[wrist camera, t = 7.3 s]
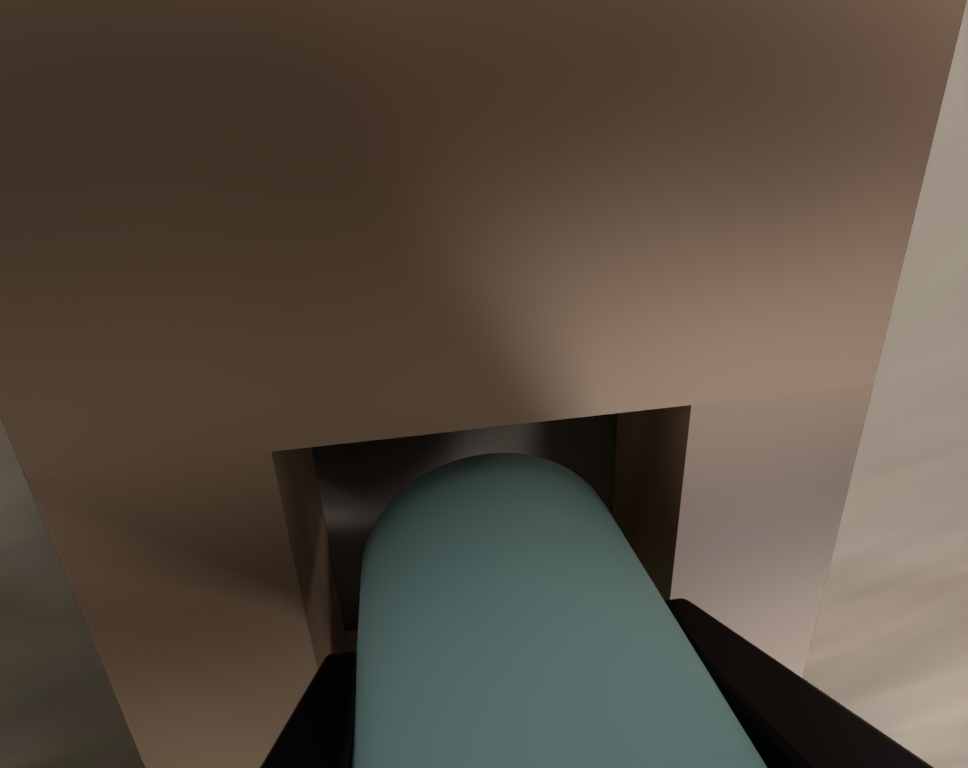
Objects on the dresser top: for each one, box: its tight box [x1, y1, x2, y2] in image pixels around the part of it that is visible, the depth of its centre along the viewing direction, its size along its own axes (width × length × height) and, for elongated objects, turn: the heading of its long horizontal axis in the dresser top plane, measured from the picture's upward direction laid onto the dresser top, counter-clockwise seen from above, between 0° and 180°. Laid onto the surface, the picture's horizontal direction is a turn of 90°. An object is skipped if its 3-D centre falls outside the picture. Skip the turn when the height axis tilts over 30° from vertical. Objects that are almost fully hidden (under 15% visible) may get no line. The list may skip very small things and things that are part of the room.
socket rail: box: [0, 0, 967, 768], centre depth 10 cm, size 18×11×2 cm, turn 2°
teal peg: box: [351, 453, 767, 768], centre depth 6 cm, size 4×4×6 cm
